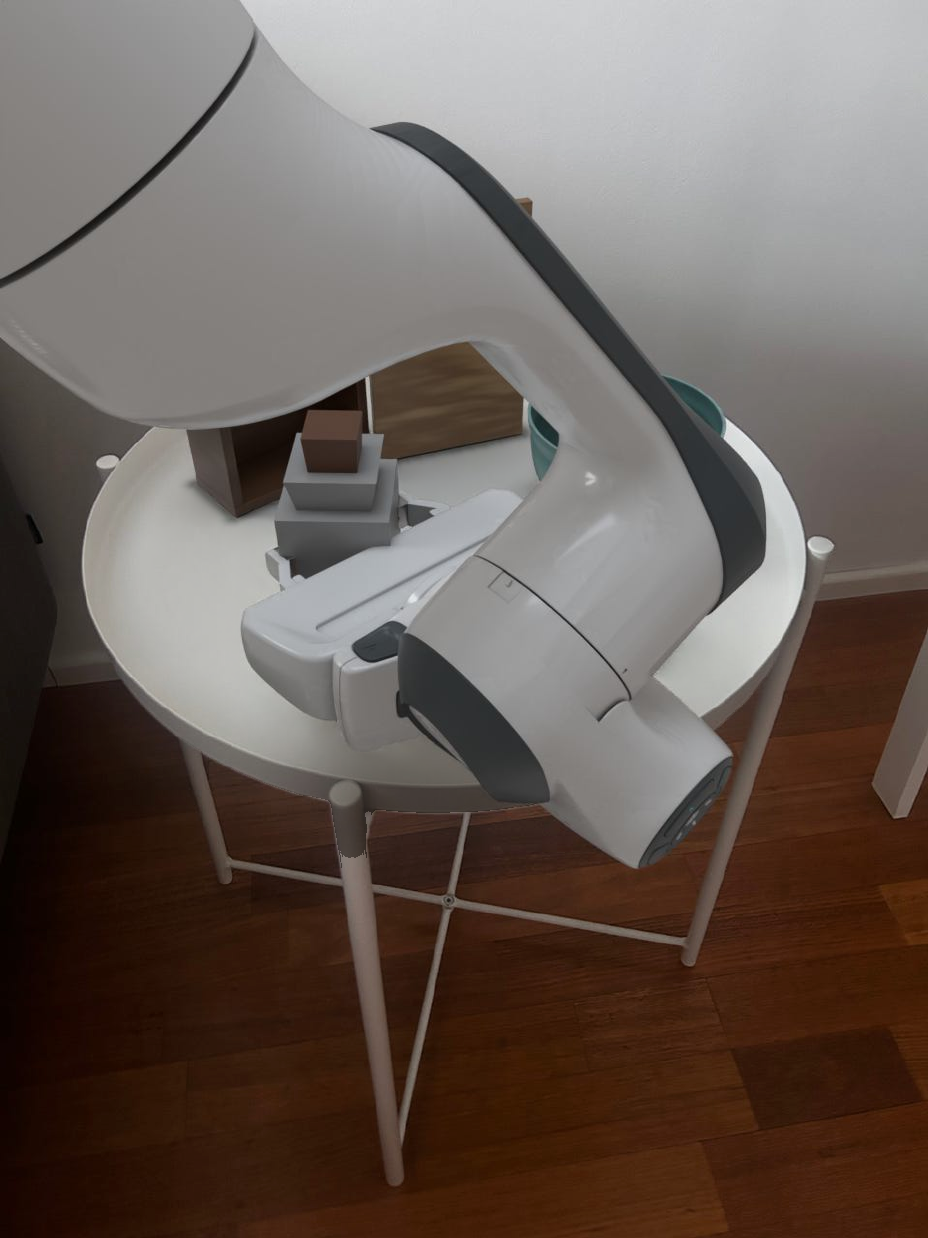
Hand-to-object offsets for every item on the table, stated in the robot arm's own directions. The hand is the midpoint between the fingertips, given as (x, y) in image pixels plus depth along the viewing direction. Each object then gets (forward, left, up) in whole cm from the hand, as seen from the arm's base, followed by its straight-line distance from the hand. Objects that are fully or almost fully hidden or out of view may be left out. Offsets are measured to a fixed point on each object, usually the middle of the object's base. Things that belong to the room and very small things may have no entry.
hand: (334, 528), depth 65 cm
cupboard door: (+27, +23, -15) cm, 39 cm away
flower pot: (+30, +2, -15) cm, 34 cm away
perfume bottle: (0, -1, -10) cm, 10 cm away
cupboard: (+12, +27, -15) cm, 33 cm away
